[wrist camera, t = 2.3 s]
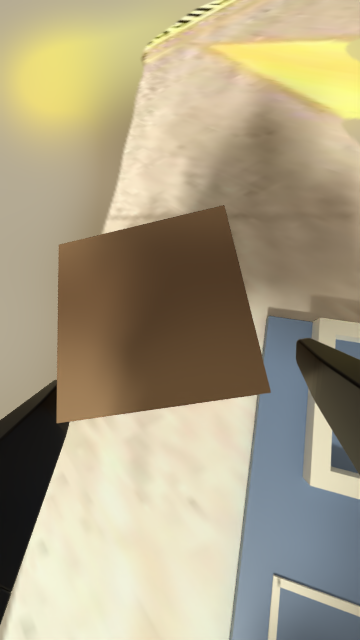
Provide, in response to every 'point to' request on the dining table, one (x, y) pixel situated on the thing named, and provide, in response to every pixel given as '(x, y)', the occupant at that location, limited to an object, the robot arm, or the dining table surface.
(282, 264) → the dining table surface
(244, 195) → the dining table surface
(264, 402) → the blueprint board
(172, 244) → the walnut column
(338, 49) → the dining table surface
